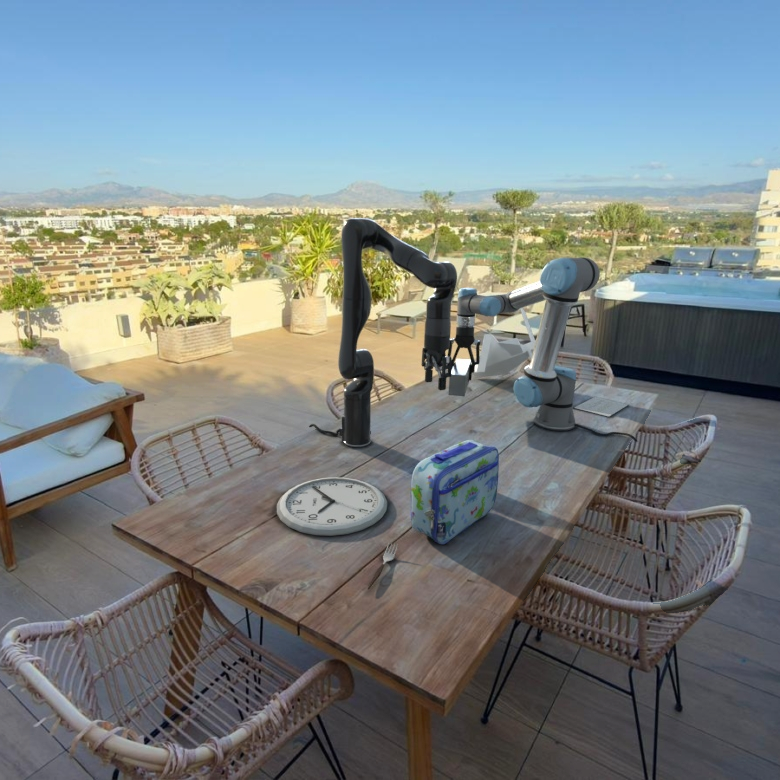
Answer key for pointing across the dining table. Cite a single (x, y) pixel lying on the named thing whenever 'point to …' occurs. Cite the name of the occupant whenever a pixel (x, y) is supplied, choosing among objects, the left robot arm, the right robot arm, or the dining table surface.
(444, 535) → the lunch box
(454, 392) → the box
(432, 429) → the dining table surface
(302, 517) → the wall clock
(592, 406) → the invitation card
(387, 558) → the fork
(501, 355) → the white plastic object
